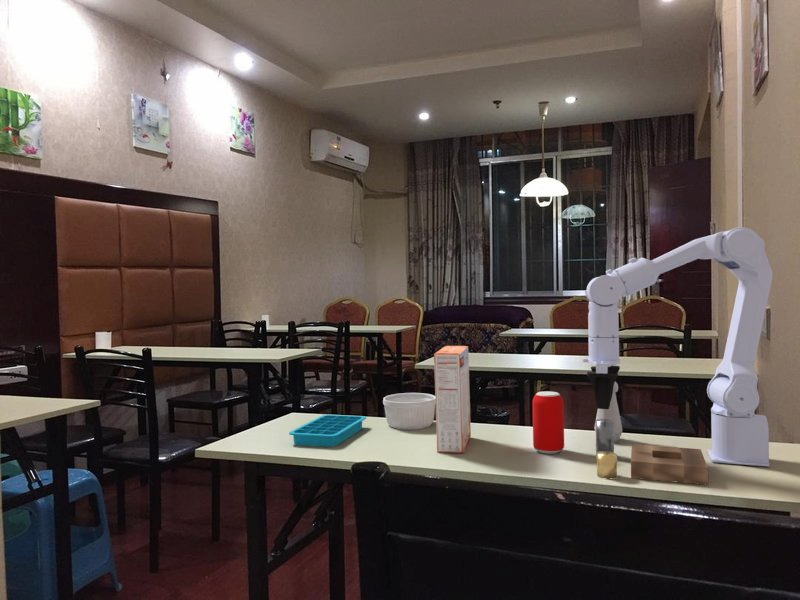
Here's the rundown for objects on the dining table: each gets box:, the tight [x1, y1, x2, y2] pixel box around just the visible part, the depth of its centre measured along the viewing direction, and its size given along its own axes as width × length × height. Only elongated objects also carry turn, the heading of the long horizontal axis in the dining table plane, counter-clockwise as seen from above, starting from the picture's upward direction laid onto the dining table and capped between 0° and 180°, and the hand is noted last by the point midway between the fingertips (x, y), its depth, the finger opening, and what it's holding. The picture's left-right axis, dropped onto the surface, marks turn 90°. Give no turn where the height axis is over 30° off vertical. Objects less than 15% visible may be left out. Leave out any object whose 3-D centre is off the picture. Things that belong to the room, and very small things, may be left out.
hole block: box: [630, 443, 709, 486], centre depth 108 cm, size 12×12×3 cm
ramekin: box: [382, 392, 436, 431], centre depth 149 cm, size 13×13×7 cm
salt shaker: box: [593, 381, 623, 443], centre depth 131 cm, size 6×6×13 cm
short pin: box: [596, 451, 618, 480], centre depth 106 cm, size 3×3×4 cm
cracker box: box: [433, 345, 472, 454], centre depth 129 cm, size 14×6×21 cm, turn 167°
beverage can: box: [532, 390, 565, 455], centre depth 123 cm, size 6×6×12 cm
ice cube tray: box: [288, 414, 367, 448], centre depth 140 cm, size 12×20×3 cm, turn 163°
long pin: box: [595, 419, 615, 457], centre depth 119 cm, size 3×3×7 cm
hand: (604, 405), depth 118 cm, fingers open, 7 cm apart
